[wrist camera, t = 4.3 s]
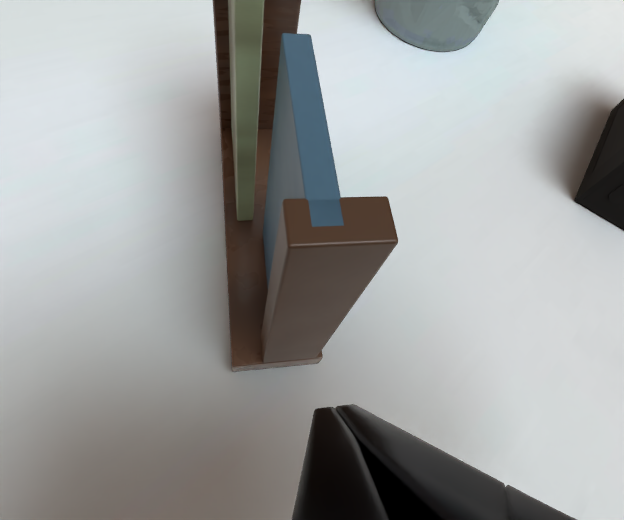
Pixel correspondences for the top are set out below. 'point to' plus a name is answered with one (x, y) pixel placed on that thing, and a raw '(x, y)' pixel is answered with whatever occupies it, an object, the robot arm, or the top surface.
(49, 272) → the top surface
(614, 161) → the digital camera
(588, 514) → the top surface
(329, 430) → the robot arm
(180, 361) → the top surface
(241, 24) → the brown wooden panel stand
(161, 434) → the top surface
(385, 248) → the sliding door
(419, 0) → the embossed grey plant pot
